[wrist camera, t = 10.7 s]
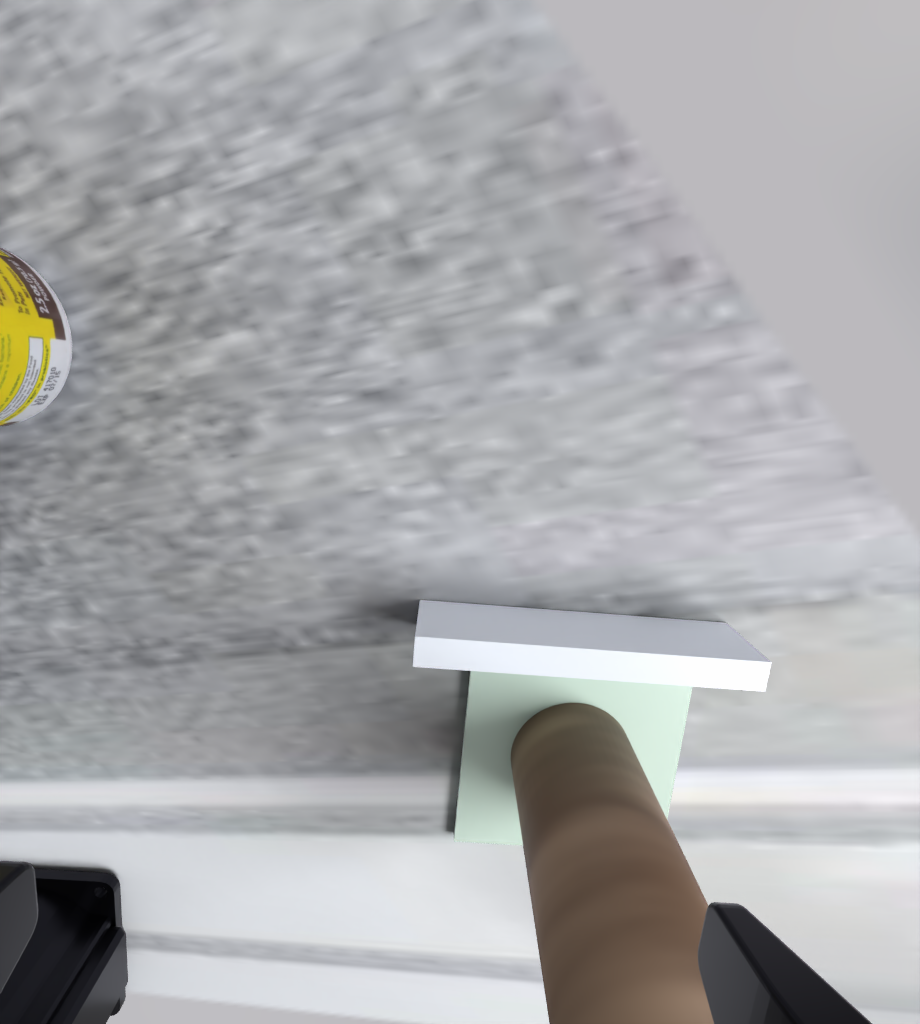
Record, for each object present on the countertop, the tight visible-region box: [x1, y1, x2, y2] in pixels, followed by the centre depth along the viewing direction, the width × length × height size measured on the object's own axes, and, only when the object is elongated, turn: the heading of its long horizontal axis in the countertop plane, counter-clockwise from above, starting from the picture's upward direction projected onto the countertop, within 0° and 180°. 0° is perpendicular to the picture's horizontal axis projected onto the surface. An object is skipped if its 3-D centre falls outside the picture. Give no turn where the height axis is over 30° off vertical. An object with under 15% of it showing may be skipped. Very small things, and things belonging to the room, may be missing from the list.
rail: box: [413, 600, 772, 692], centre depth 20 cm, size 11×1×3 cm, turn 85°
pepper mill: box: [511, 703, 714, 1024], centre depth 15 cm, size 4×4×13 cm
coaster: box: [454, 671, 692, 846], centre depth 22 cm, size 8×8×1 cm
